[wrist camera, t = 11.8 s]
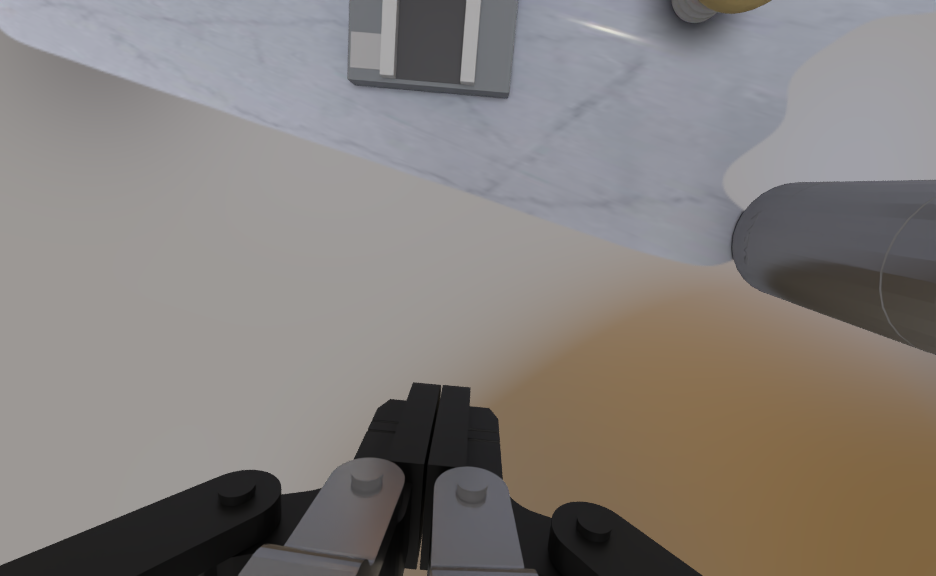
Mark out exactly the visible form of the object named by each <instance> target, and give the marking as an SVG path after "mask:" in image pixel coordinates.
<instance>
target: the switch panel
mask: <svg viewBox="0 0 936 576" xmlns="http://www.w3.org/2000/svg"><path fill="white" fill-rule="evenodd" d="M517 7H518V0H350V1H349V39H348V76H347V79H348V80H349V81H350V82H352V83H353V84H354V85H360V86H372V87H383V88H395V89H406V90H418V91H430V92H441V93H453V94H464V95H476V96H488V97H499V98H508V95H509V89H510V78H511V68H512V58H513V48H514V38H515V28H516V18H517Z"/></svg>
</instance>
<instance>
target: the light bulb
mask: <svg viewBox="0 0 936 576" xmlns="http://www.w3.org/2000/svg"><path fill="white" fill-rule="evenodd" d="M770 1H771V0H672V6H673V9H674V11H675V12H676V14H677V15H678V16H679V17H680V18H681V19H682V20H684V21H686V22H690V23H699V22H704V21H706V20H708V19H709V18H711V17H712V16H713V15H715V14H716V13H718V12H721V13H729V14H735V13H742V12H746V11H750V10H753V9H755V8H758V7H760V6H762V5H764V4H766V3H768V2H770Z"/></svg>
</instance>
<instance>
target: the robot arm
mask: <svg viewBox="0 0 936 576" xmlns="http://www.w3.org/2000/svg"><path fill="white" fill-rule="evenodd" d="M732 251H733V259H734V262H735V264H736V267H737V270H738V271H739V273H740V274H741V276H742V277H743V279H745V281H747V282H748V283H749V284H750V285H751V286H752V287H754V288H756V289H758V290H759V291H761V292H764V293H767V294H770V295H772V296H775V297H778V298H781V299H783V300H786V301H789V302H791V303H794V304H797V305H799V306H802V307H805V308H807V309H810V310H813V311H816V312H819V313H821V314H824V315H827V316H829V317H832V318H835V319H838V320H841V321H843V322H846V323H849V324H852V325H854V326H857V327H860V328H863V329H865V330H868V331H871V332H873V333H877V334H879V335H882V336H884V337H887V338H890V339H893V340H895V341H898V342H901V343H904V344H907V345H909V346H912V347H915V348H917V349H920V350H923V351H926V352H929V353H932V354H935V355H936V180H909V181H856V182H855V181H854V182H799V183H789V184H784V185H781V186H778V187H774V188H772V189H770V190H769V191H767V192H765V193H763V194H761V195H760V196H759V197H758V198H757V199H755V200H754V201H753V202H752V203H751V204H750V205H749V207H748V208H747V209H746V210H745V211H744V212H743V214H742V216H741V218H740V219H739V221H738V223H737V226H736V229H735V232H734V235H733V244H732ZM440 395H441V398H440ZM469 403H470V388H469V387H459V386H448V385H443V388H442V393H441V385H436V384H424V383H413V384H412V387H411V390H410V393H409V395H408V398H407V401H404V400H394V399H390V400H389V401H387V402H386V403H385V404H383V405H382V406H380V407H379V408H378V409H377V411H376V413H375V415H374V417H373V420H372V422H371V424H370V426H369V428H368V431H367V432H366V434H365V436H364V439H363V441H362V443H361V445H360V447H359V449H358V451H357V453H356V456H355V458H354V460H352V461H349V462H346V463H344V464H342V465H340V466H339V467H337V468H336V469H335V470H334V471H333V472H332V474H331V475H330V476H329V478H328V480H327V481H326V482H325V484H324V486H323V487H322V488H320V489H316V490H313V491H306V492H298V493H290V494H282V495H281V484H280V481H279V480H278V479H277V478H276V477H275V476H274V475H272V474H270V473H268V472H264V471H258V470H242V471H236V472H232V473H228V474H225V475H222V476H219V477H217V478H214V479H212V480H209V481H207V482H205V483H202V484H200V485H197V486H195V487H192V488H190V489H187V490H185V491H182V492H180V493H177V494H175V495H172V496H170V497H167V498H165V499H163V500H160V501H158V502H155V503H153V504H151V505H148V506H145V507H143V508H140V509H138V510H136V511H133V512H131V513H128V514H126V515H123V516H121V517H119V518H116V519H113V520H111V521H109V522H106V523H104V524H101V525H99V526H96V527H94V528H91V529H89V530H86V531H84V532H82V533H79V534H77V535H74V536H72V537H69V538H67V539H64V540H62V541H60V542H57V543H55V544H52V545H50V546H47V547H45V548H42V549H40V550H37V551H35V552H32V553H30V554H28V555H25V556H23V557H20V558H18V559H16V560H13V561H11V562H8V563H6V564H3V565H1V566H0V576H403V573H404V568H408V569H416V568H417V562H418V557H419V551H420V545H421V539H422V547H421V548H422V549H421V560H420V570H428V572H427V576H702V575H701V574H700V573H698V572H697V571H695V570H694V569H693V568H691V567H690V566H688V565H687V564H686V563H684V562H683V561H681V560H680V559H679V558H677V557H676V556H675V555H673V554H672V553H670V552H669V551H668V550H666V549H665V548H663V547H662V546H661V545H659V544H658V543H656V542H655V541H654V540H652V539H651V538H649V537H648V536H647V535H645V534H644V533H643V532H641V531H640V530H638V529H637V528H635V527H634V526H633V525H631V524H630V523H629V522H627V521H626V520H624V519H623V518H622V517H620V516H619V515H617V514H616V513H614V512H613V511H611V510H609V509H607V508H605V507H602V506H600V505H597V504H593V503H588V502H570V503H566V504H564V505H562V506H560V507H559V508H557V509H556V510H555V512H554V514H553V516H552V518H550V517H547V516H544V515H541V514H538V513H535V512H532V511H530V510H528V509H526V508H524V507H522V506H521V505H519V504H518V503H516V502H515V501H514V500H513V499H512V498H511V497H510V495H509V490H508V487H507V485H506V484H505V482H504V481H503V477H502V464H501V451H500V438H499V424H498V418H497V417H496V416H495V415H494V414H493V412H492V411H491V410H490V409H489V408H481V407H470V406H469ZM422 533H423V534H422Z"/></svg>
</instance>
